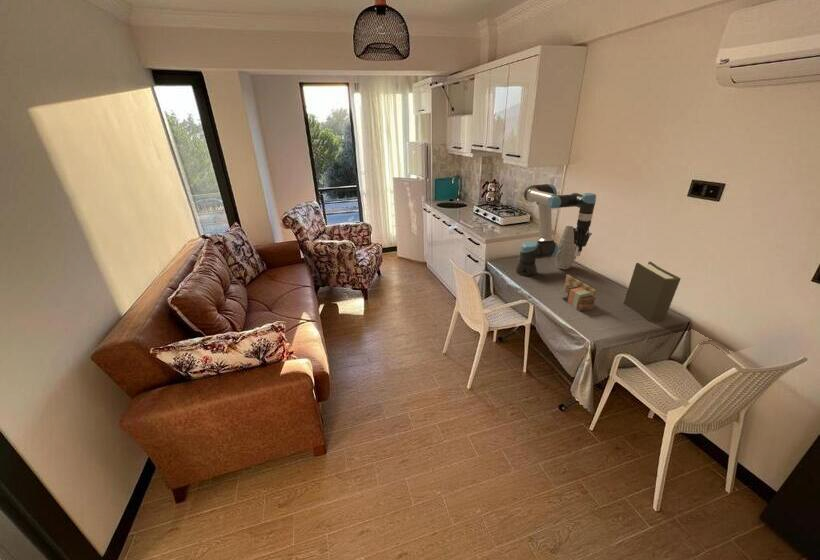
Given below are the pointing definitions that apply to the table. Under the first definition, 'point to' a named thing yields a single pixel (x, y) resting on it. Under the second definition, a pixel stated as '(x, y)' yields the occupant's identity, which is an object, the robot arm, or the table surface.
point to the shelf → (583, 302)
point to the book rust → (571, 294)
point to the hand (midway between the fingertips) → (577, 255)
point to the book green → (579, 296)
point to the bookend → (568, 294)
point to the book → (651, 291)
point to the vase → (566, 249)
